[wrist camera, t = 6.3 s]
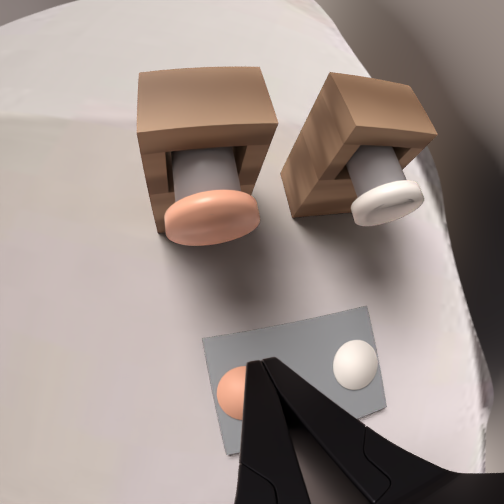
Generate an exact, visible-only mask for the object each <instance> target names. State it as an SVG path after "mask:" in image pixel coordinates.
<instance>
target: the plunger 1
mask: <svg viewBox="0 0 504 504" xmlns="http://www.w3.org/2000/svg"><path fill="white" fill-rule="evenodd" d="M171 158H172V170H173V181H174V192H175V203H174V204H173V205H171V206H170V207H169V208H168V209H167V211H166V213H165V216H164V219H165V229H166V236H167V237H168V239H169V240H171V241H173V242H175V243H178V244H182V245H190V246H203V245H213V244H219V243H223V242H228V241H231V240H234V239H237V238H240V237H242V236H244V235H246V234H248V233H250V232H251V231H253V230H254V229H255V228H256V227H257V226H258V225H259V223H260V215H259V211H258V206H257V202H256V200H255V198H253V197H252V196H251V195H249V194H247V193H244V192H241V187H240V182H239V178H238V173H237V168H236V163H235V158H234V153H233V148H232V146H230V147H215V148H202V149H191V150H180V151H171Z"/></svg>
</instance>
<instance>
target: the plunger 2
mask: <svg viewBox="0 0 504 504" xmlns="http://www.w3.org/2000/svg"><path fill="white" fill-rule="evenodd" d="M346 167H347V169H348V172H349V175H350V178H351V180H352V183H353V186H354V189H355V192H356V195H357V199H356V200H355V201H354V202H353V203H352V205H351V211H352V214H353V217H354V221H355V223H356V224H357V225H360V226H375V225H380V224H384V223H388V222H391V221H394V220H397V219H399V218H402V217H404V216H406V215H408V214H410V213H412V212H413V211H415V210H416V209H417V208H419V207H420V206H421V205H422V204H423V202H424V196H423V194H422V191H421V189H420V186H419V184H418V183H417V182H415V181H410V180H406V177H405V175H404V173H403V170H402V168H401V166H400V163H399V161H398V159H397V156H396V154H395V152H394V150H393V147H392V146H374V145H360V146H359V148H358V149H357V150H356V152H355V153H354V154H353V156H352V157H351V158H350V159H349V161H348V162H347V163H346Z"/></svg>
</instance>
